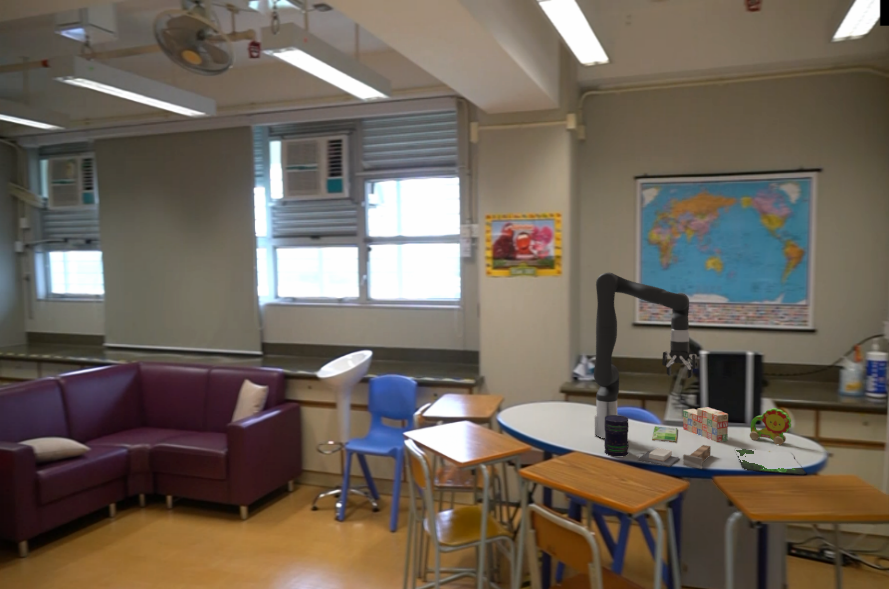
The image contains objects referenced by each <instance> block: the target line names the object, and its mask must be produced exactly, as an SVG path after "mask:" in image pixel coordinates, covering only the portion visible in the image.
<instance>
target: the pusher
mask: <svg viewBox="0 0 889 589" xmlns="http://www.w3.org/2000/svg"><path fill="white" fill-rule="evenodd" d="M711 449H712V448H711V446H710V445H705V444H702V445H700V447H698V448H697V449H695V450H694V451H693V452H691V454H683V455H682V465H683V466H687V467H692V468H695V469H696V468H697V469H701V470H702V469H703V463H704V462H705V461H706V460H707V459H708V458H709V457H710V456H711ZM708 456H709V457H708ZM707 457H708V458H707ZM706 458H707V459H706ZM705 459H706V460H705ZM704 460H705V461H704Z"/></svg>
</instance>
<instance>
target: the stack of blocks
mask: <svg viewBox="0 0 889 589" xmlns="http://www.w3.org/2000/svg"><path fill="white" fill-rule="evenodd" d="M682 416H683V417H682V425H683V427H682V428H683V430H686V431H688V432H690V433H693V434H694V435H697V434H698V435H697V436H700V435H701V436H700V437H704V438H705V439H707V440H710V439H711V440H710V441H713V442H716V443H718V442H719V443H720V441H721V442H726V441H728V430H729V428H728V427H729V414H728V413H726V412H723V411H722V410H717V409H715V408H711V407H708V406H706V407H700V408H697V409H695V408H689V409H683V410H682Z"/></svg>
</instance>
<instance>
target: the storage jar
mask: <svg viewBox="0 0 889 589" xmlns="http://www.w3.org/2000/svg"><path fill="white" fill-rule="evenodd" d="M604 426H605V428H604V429H605V439H604V445H603V446H604V454H605V453H606V455H607V454H608V455H607V456H609V455H611V456H610V457H614V456H623V457H626V455H627V456H628V455H629V446H630V445H629V438H628V437H629V434H628V433H629V427H630V426H629V418H628V417H626V416H624V415H618V414H617V415H609V416H606V417H605V423H604Z"/></svg>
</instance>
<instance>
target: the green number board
mask: <svg viewBox="0 0 889 589" xmlns="http://www.w3.org/2000/svg"><path fill="white" fill-rule="evenodd" d="M677 436H678V428H677V427H670V426H669V427H668V426H658V425H657V426H654V429H653V433H652V438H651V440H652V441H655V440H661V441H660V442H665V441H669V442H668V443H677Z"/></svg>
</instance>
